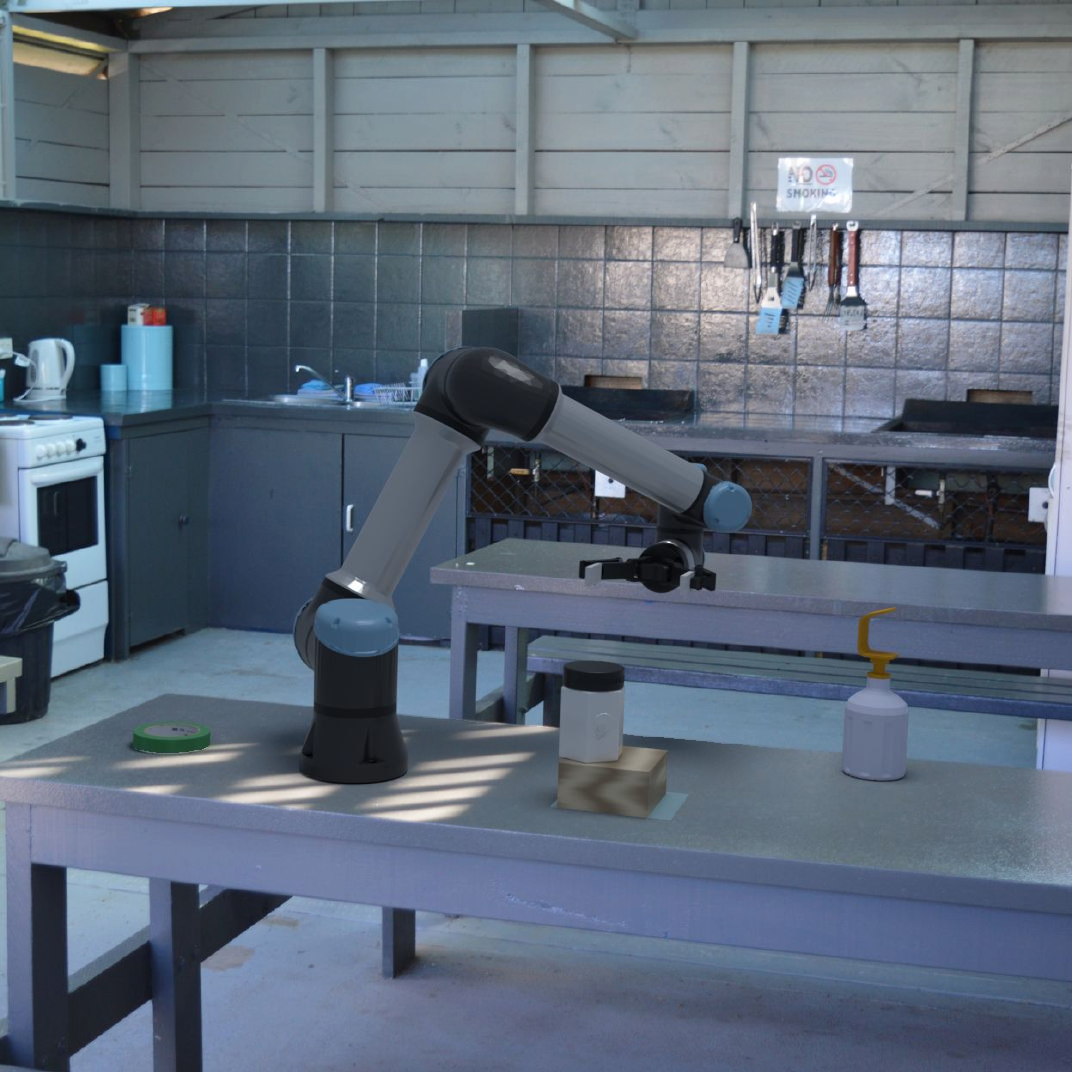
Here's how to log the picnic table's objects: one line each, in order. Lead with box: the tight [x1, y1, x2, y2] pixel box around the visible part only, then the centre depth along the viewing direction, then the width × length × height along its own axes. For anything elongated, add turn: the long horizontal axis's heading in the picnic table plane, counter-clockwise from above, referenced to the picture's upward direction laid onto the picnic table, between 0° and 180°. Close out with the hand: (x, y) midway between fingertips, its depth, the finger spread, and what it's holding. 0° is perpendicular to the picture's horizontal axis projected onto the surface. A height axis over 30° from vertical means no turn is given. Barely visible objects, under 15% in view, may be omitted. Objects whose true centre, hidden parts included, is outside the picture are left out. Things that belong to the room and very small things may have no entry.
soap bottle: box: [841, 606, 910, 782], centre depth 215 cm, size 9×9×25 cm
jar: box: [558, 660, 626, 763], centre depth 195 cm, size 9×8×12 cm
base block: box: [556, 745, 669, 819], centre depth 196 cm, size 12×12×6 cm
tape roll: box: [132, 721, 211, 753], centre depth 219 cm, size 11×11×3 cm
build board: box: [549, 791, 690, 822], centre depth 197 cm, size 16×13×1 cm
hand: (634, 581), depth 207 cm, fingers open, 13 cm apart
